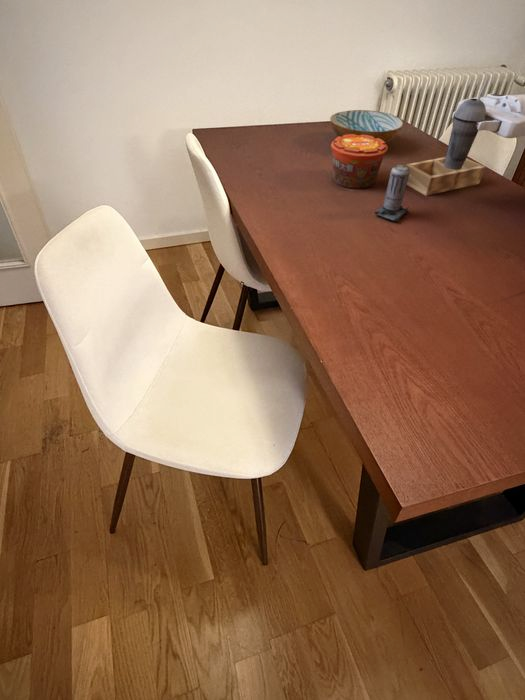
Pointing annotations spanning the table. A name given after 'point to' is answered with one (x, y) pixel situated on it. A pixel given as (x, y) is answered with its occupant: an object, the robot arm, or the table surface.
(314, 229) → the table surface
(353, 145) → the food container
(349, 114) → the bowl
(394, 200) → the grey column figurine
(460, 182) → the wooden divided box
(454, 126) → the beverage cup
